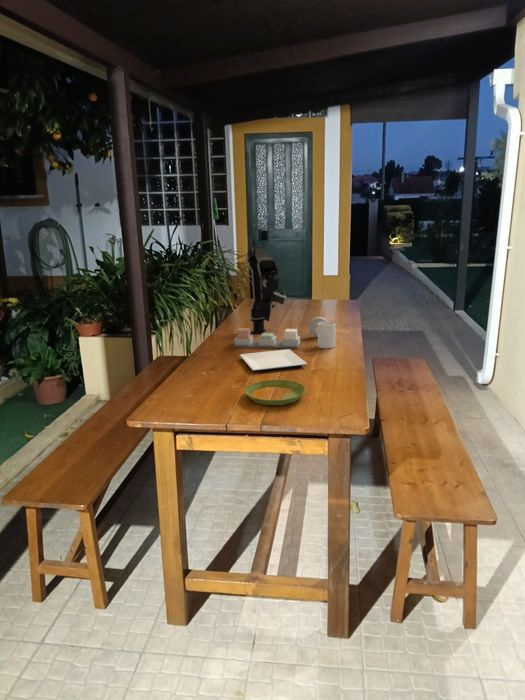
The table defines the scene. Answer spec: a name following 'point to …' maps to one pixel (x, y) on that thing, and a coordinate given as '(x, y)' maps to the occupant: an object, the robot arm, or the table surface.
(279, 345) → the button panel
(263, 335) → the sage button
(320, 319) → the donut
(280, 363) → the plate
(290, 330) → the cream button
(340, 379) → the table surface
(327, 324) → the mug
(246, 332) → the terracotta button
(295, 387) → the saucer
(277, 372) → the table surface
